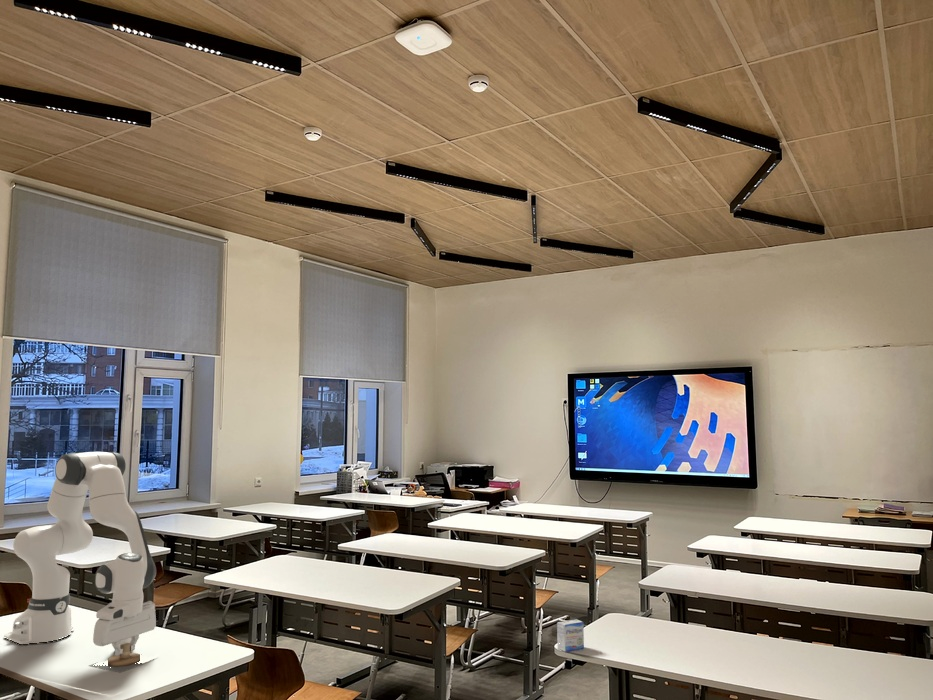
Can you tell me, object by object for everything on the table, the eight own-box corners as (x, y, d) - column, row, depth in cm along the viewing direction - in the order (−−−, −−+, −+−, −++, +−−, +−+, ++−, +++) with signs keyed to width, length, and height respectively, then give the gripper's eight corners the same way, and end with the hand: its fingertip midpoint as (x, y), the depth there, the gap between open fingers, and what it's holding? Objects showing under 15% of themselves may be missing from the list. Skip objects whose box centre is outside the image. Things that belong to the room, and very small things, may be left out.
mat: (88, 667, 206) (88, 665, 206) (127, 653, 218) (127, 652, 218) (120, 673, 200) (120, 672, 200) (158, 659, 213) (158, 657, 213)
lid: (101, 664, 207) (102, 646, 207) (126, 655, 215) (127, 638, 216) (122, 668, 203) (123, 650, 204) (146, 659, 212) (147, 641, 212)
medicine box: (565, 652, 219) (564, 625, 220) (557, 648, 223) (556, 621, 224) (584, 648, 223) (583, 621, 224) (576, 645, 227) (575, 618, 228)
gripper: (147, 598, 222) (145, 641, 220) (91, 613, 203) (88, 661, 202) (161, 600, 219) (159, 644, 218) (105, 616, 201) (102, 664, 199)
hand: (124, 652), depth 210 cm, fingers open, 3 cm apart
